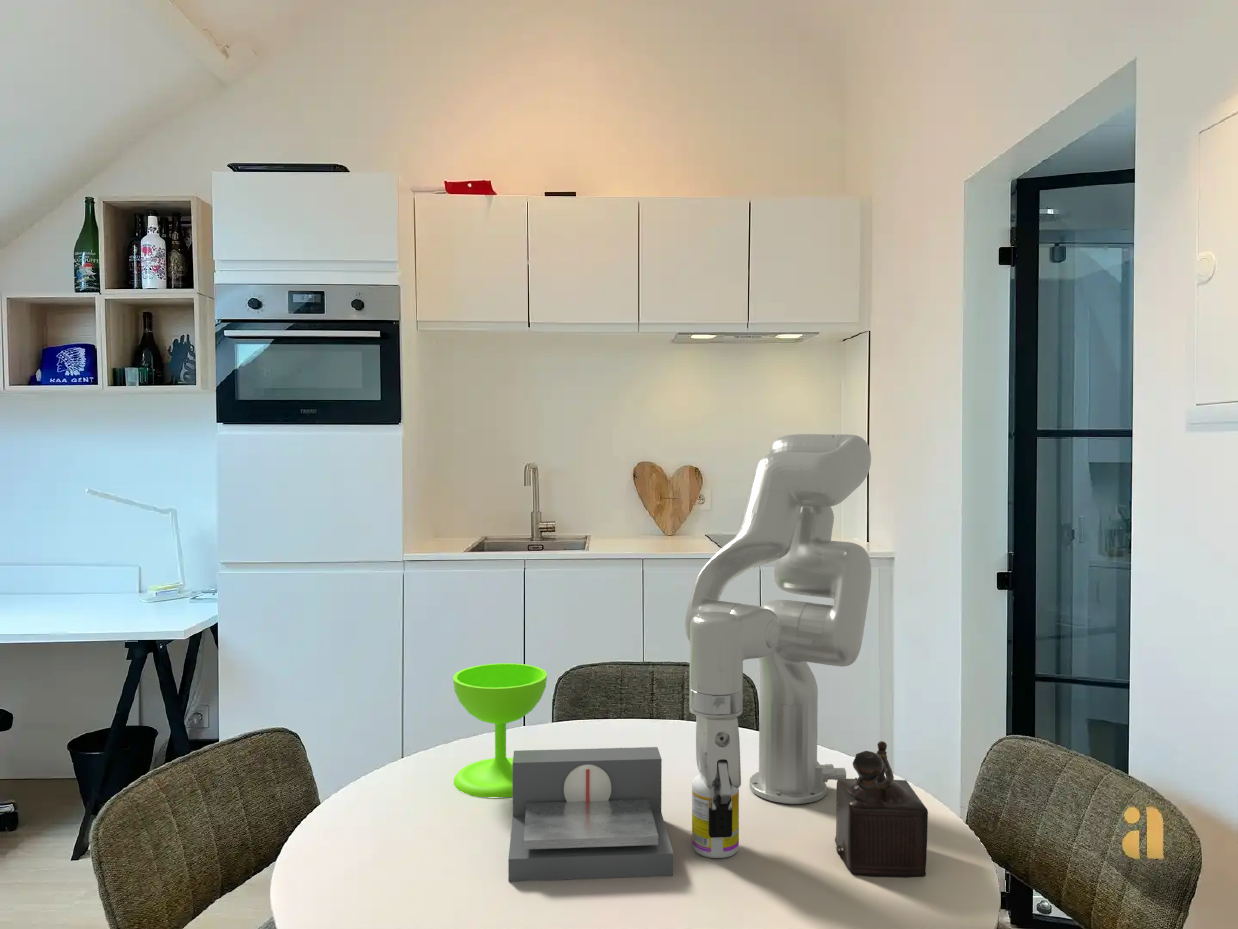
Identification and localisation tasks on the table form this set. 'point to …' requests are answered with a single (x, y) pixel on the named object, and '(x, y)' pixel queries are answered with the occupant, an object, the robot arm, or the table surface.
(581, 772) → the scale
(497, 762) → the wineglass
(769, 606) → the robot arm
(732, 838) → the supplement bottle
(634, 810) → the pan
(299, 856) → the table surface
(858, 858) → the manual coffee grinder
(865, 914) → the table surface
